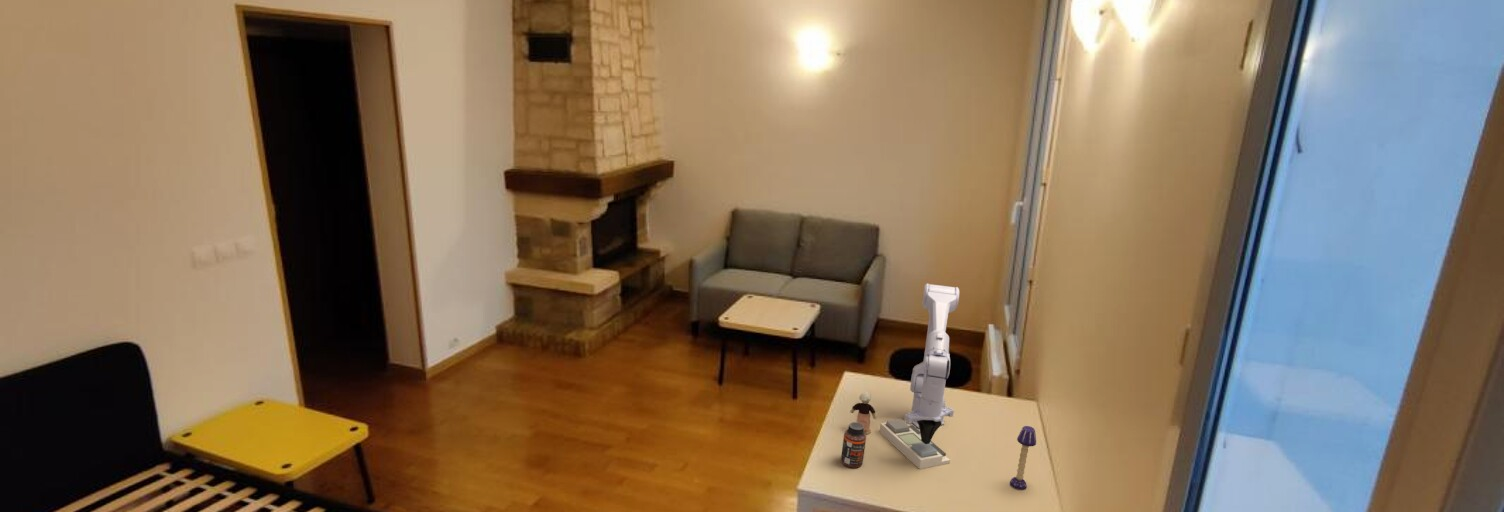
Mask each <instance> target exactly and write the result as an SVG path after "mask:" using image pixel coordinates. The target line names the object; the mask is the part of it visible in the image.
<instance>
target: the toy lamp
mask: <svg viewBox="0 0 1504 512" xmlns="http://www.w3.org/2000/svg"><path fill="white" fill-rule="evenodd" d="M1016 441H1017V442H1018V444H1020V445H1021V446H1022V447H1021V449H1020V453H1019V459H1018V464H1017V470H1016V471H1017V472H1016V473H1017V474H1016V476H1015V477H1012V478H1011V479H1010V481H1009V485H1010V486H1011V487H1012V488H1013V489H1017V490H1026V489H1027V481H1025V480H1026V479H1025V480H1024V474H1025V469H1026V463H1027V458H1028V453H1029V447H1034V446H1036V445H1037V435H1036V429H1035V427H1032V426H1029V425H1024V426H1022V428H1021V430H1020V432H1019V434H1018V436H1017V439H1016Z"/></svg>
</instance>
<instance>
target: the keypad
mask: <svg viewBox="0 0 1504 512" xmlns="http://www.w3.org/2000/svg"><path fill="white" fill-rule="evenodd" d="M886 422H887V421H886ZM886 422H882V423H880V424H879V433H880V434H881V435H882V436H883V437H884V438H885V439H886V440H888V441H889V442H890V443H891V444H892V446H894V447H895V448H896V449H897V450H898V451H900V453H901V454H903V455H904V456H905V457H906V458H907V459H908V460H909V461H910V462H911V463H912V464H913V465H914V466H916V468H918V469H919V470H922V469H927V468H932V467H936V466H937V467H938V466H943V465H947V464H950V463H951V459H950V458H948V456H946V455H947V453H946V452H945V451H943V449H941V448H940V447H939V446H937V444H936V443H934V442H933V441H932V440H931V441H930V443H929V444H930V445H931V446H933V447H934V448H935V449H936V450H937V454H936V455H933V456H928V457H921V456H919V455H918V454H917V453H916V452H915V451H914V450H913V449H912V445H909V446H908V445H907V444H906V443H904V442H903V441H902V440H901V439H900V438H899V437H898V436H903V435H909V434H913V435H915V436H916V437H917V438H918V439H919V440H920V441H921V433H920V429H919V428H918V427H917V428H916V426H915V425H914V424H911V425H910V424H908V423H906V424H907V425H908V426H909V427H910V429H909V431H907V432H901V433H896V434H895V433H894V432H893V431H892V430H891V429H890V428H888V427H887V426H886ZM921 442H922V441H921Z"/></svg>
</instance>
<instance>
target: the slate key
mask: <svg viewBox="0 0 1504 512" xmlns="http://www.w3.org/2000/svg"><path fill="white" fill-rule="evenodd" d="M912 449H913V450H914V451H915V452H916V453H917V454H918V455H919V456H921V457H928V456H933V455H936V454H937V450H936V449H935V448H934V447H933V446H931V445H930V444H924V443H923V442H920V443H915V444H912Z"/></svg>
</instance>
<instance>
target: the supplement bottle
mask: <svg viewBox="0 0 1504 512" xmlns="http://www.w3.org/2000/svg"><path fill="white" fill-rule="evenodd" d="M866 440H867V434H865V433H864V426H863V425H862V424H860V423H857V421H856V422H855V421H852V422H850V423H849V424H848V428H847V429H846V430H845V431H844V434H843V440H842V449H841V457H840V462H841V463H842V465H843V466H845V467H847V468H852V469H853V468H855V469H857V468H860V467H861V466H863V464H864V457H865V456H864V455H865V449H866Z"/></svg>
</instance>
